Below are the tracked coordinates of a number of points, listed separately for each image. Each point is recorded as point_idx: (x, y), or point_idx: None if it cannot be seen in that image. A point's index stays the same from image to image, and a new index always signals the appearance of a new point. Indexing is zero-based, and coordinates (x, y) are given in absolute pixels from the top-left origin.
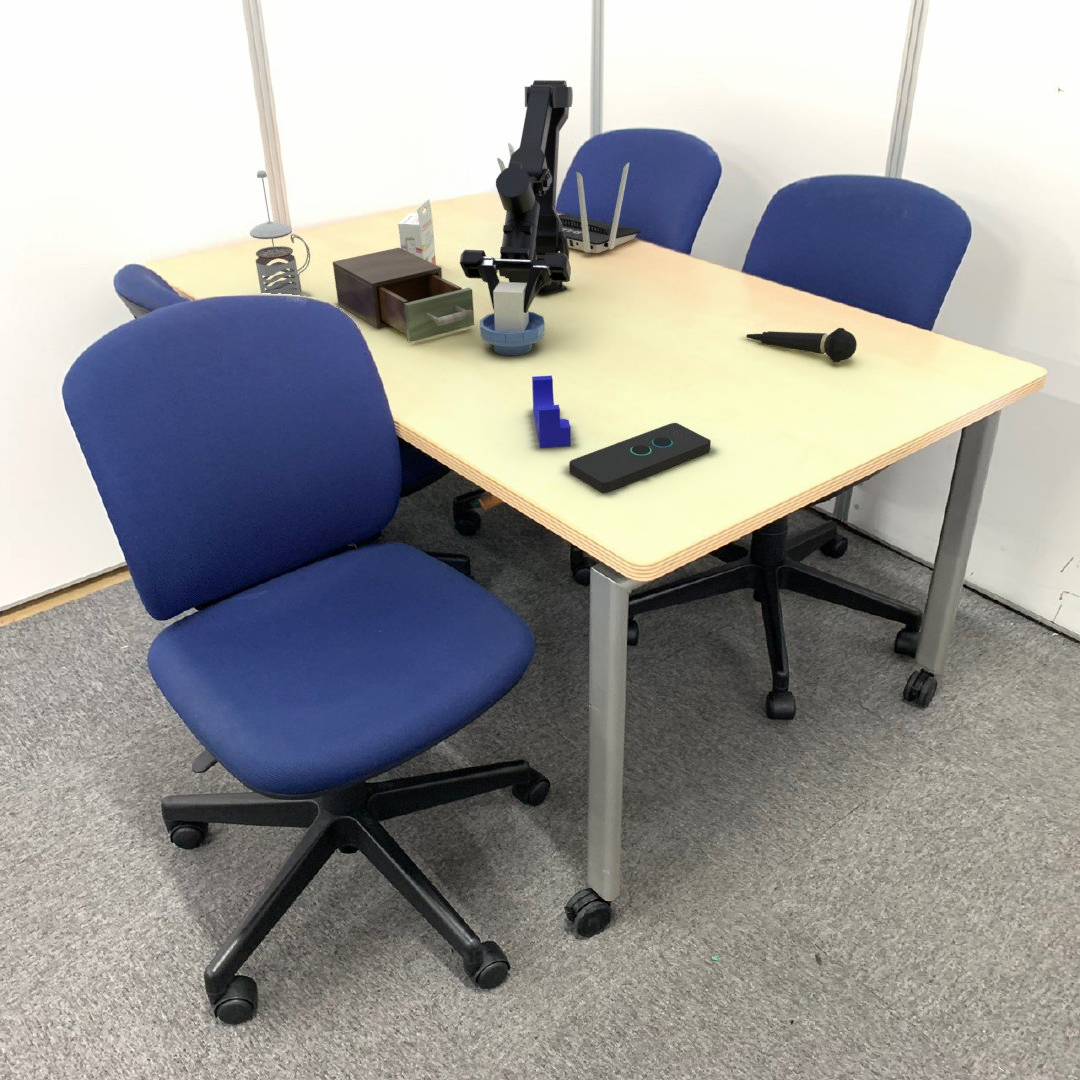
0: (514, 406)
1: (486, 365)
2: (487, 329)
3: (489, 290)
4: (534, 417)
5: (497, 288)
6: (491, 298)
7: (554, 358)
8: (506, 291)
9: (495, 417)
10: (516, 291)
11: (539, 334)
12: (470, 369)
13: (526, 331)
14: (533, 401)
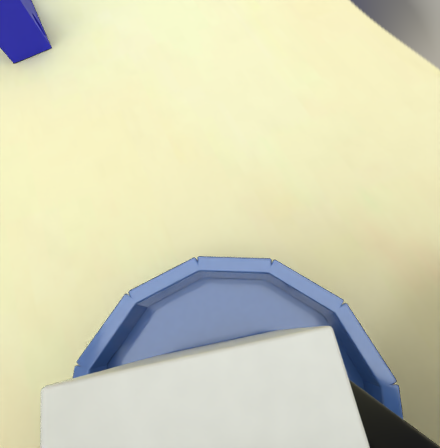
0: (96, 57)
1: (252, 225)
2: (293, 275)
3: (431, 442)
4: (39, 21)
5: (339, 438)
6: (364, 394)
7: (65, 350)
8: (202, 369)
9: (119, 12)
10: (102, 406)
11: None
12: (281, 186)
13: (115, 311)
14: (24, 2)
